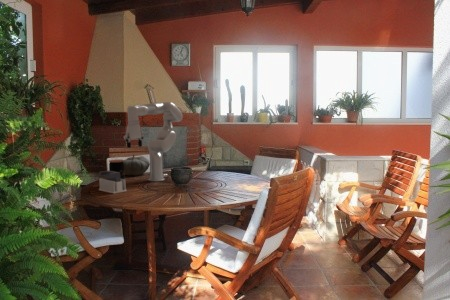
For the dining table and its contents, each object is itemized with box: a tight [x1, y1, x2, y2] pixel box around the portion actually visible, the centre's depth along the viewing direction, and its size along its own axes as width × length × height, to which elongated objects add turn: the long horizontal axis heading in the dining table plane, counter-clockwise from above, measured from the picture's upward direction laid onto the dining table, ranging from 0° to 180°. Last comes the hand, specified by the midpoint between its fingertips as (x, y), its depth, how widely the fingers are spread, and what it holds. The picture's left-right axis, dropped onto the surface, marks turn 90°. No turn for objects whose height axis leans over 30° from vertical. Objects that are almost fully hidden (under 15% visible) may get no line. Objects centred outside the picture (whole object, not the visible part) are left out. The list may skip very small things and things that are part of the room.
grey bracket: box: [98, 170, 120, 182], centre depth 275 cm, size 7×14×6 cm, turn 48°
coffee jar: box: [108, 158, 126, 179], centre depth 299 cm, size 11×11×18 cm
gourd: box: [123, 154, 150, 177], centre depth 345 cm, size 25×25×17 cm
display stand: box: [98, 178, 128, 194], centre depth 278 cm, size 10×18×8 cm, turn 48°
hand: (134, 146), depth 295 cm, fingers open, 9 cm apart
